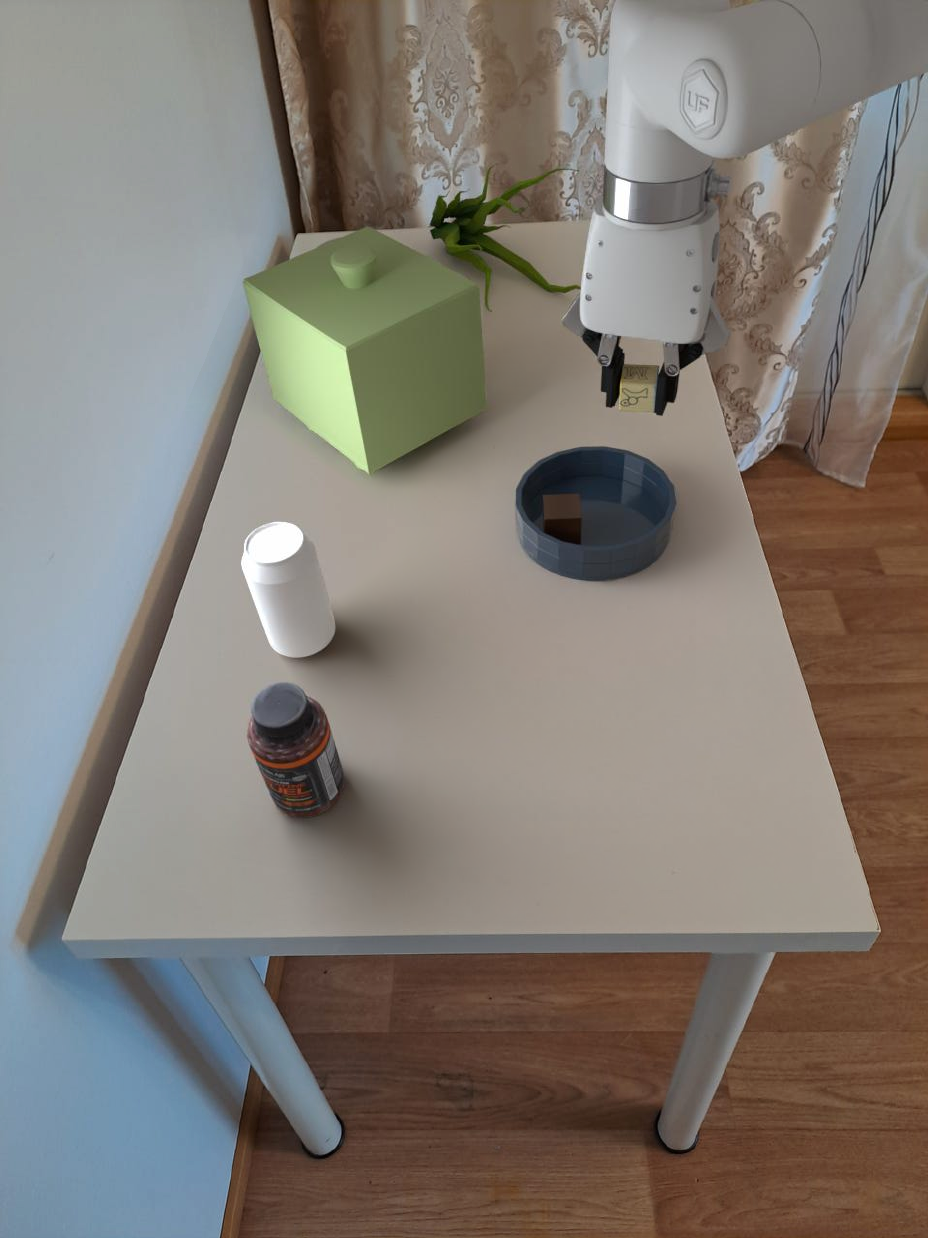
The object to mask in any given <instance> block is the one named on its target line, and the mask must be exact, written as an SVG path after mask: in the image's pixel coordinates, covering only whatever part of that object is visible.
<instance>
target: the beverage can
mask: <svg viewBox="0 0 928 1238" xmlns="http://www.w3.org/2000/svg"><path fill="white" fill-rule="evenodd" d="M243 550H244V551H243V555H242V558H241V568H242V571H243V575H244V577H245V580H246V583H247V585H248V588H249V591H250V594H251V597H252V600H253V602H254V605H255V607H256V611H257V615H258V616H259V618H260V622H261V624H262V627H263V630H264V632H265V635H266V638H267V640H268V643H269V645H270V646H271V648H272V649H273V650H274V651H275V652H276V653H278V654H279V655H282V656H284V657H288V658H306V657H309V656H312V655H314V654H317V653H318V652H320V651H322V650H324V648H326V647H327V646H328V645H329V644H330V643H331V641H332V640H333V638H334V636H335V632H336V621H335V617H334V616H335V615H334V612H333V609H332V605H331V602H330V601H331V600H330V597H329V593H328V590H327V586H326V582H325V578H324V575H323V571H322V567H321V564H320V560H319V556H318V552H317V549H316V546H315V544H314V542H313V541H312V540H311V539H310V538H309V537H308V536H306V534H304V532H303V531H302V529H301V528H300V527H299V526H297V525H296V524H294V523H291V522H288V521H287V522H286V521H273V522H269V523H265V524H263V525H261V526H258V527H257V528H255V529H254V530H253V531H251V532H250V533H249V535H248V536H247V537H246V539H245V541H244V544H243Z"/></svg>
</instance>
